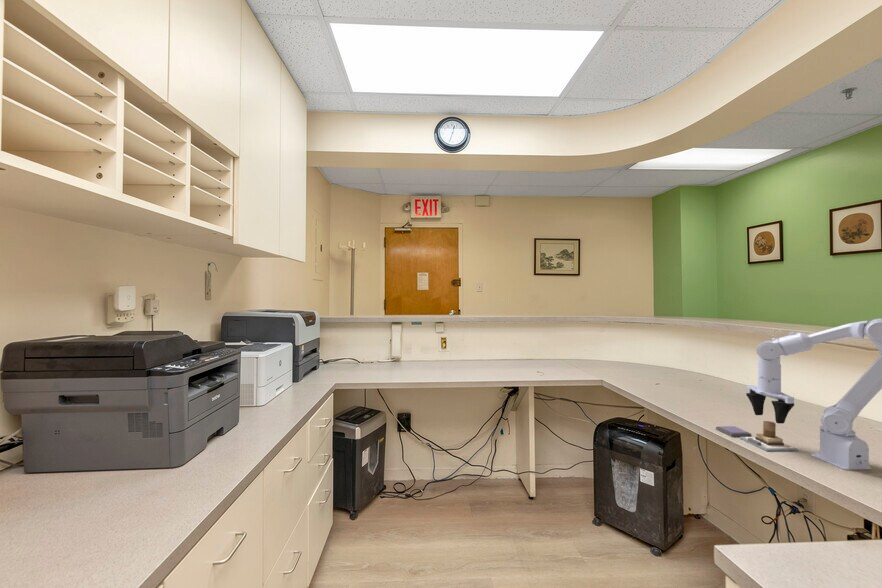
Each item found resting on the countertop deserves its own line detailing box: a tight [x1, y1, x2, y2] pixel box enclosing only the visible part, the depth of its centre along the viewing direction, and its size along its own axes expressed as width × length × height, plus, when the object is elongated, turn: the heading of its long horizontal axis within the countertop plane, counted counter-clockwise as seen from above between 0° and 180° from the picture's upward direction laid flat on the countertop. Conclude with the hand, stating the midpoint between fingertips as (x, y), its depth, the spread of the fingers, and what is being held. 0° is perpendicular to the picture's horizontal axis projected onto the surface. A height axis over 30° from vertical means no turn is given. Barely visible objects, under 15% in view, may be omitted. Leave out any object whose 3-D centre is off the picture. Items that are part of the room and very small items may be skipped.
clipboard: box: [739, 436, 798, 452], centre depth 121 cm, size 10×10×1 cm
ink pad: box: [715, 425, 752, 438], centre depth 131 cm, size 7×7×1 cm
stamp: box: [754, 420, 785, 446], centre depth 121 cm, size 5×5×6 cm
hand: (769, 418), depth 121 cm, fingers open, 7 cm apart
